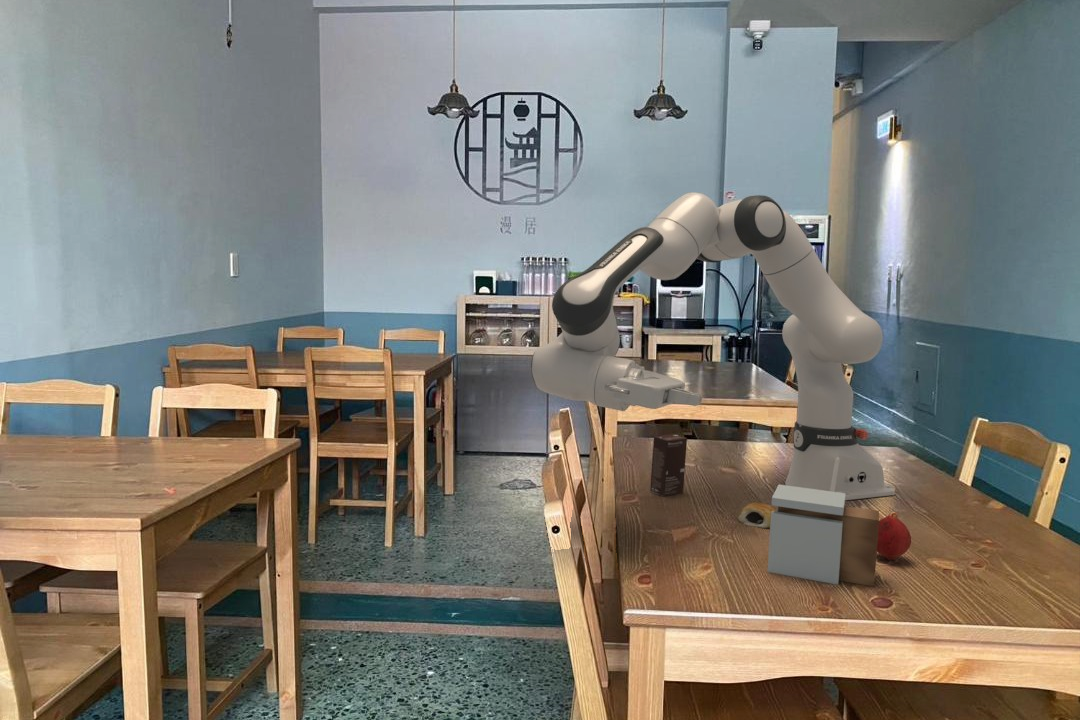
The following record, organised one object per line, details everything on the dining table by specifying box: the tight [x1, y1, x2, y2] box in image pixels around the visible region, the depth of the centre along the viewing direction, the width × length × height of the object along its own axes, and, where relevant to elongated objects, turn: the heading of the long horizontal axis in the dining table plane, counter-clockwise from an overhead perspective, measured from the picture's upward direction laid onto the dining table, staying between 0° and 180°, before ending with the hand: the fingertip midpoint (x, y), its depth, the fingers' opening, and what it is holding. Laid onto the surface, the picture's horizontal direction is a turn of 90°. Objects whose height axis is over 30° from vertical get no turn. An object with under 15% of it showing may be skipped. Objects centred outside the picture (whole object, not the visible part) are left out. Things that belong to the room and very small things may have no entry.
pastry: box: [737, 502, 776, 529], centre depth 134 cm, size 9×7×4 cm
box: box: [649, 433, 688, 497], centre depth 151 cm, size 6×4×12 cm
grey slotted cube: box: [767, 484, 846, 585], centre depth 111 cm, size 10×8×12 cm
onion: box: [877, 511, 912, 561], centre depth 116 cm, size 6×6×8 cm
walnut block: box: [778, 505, 880, 588], centre depth 110 cm, size 14×5×10 cm, turn 65°
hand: (700, 400), depth 117 cm, fingers closed
